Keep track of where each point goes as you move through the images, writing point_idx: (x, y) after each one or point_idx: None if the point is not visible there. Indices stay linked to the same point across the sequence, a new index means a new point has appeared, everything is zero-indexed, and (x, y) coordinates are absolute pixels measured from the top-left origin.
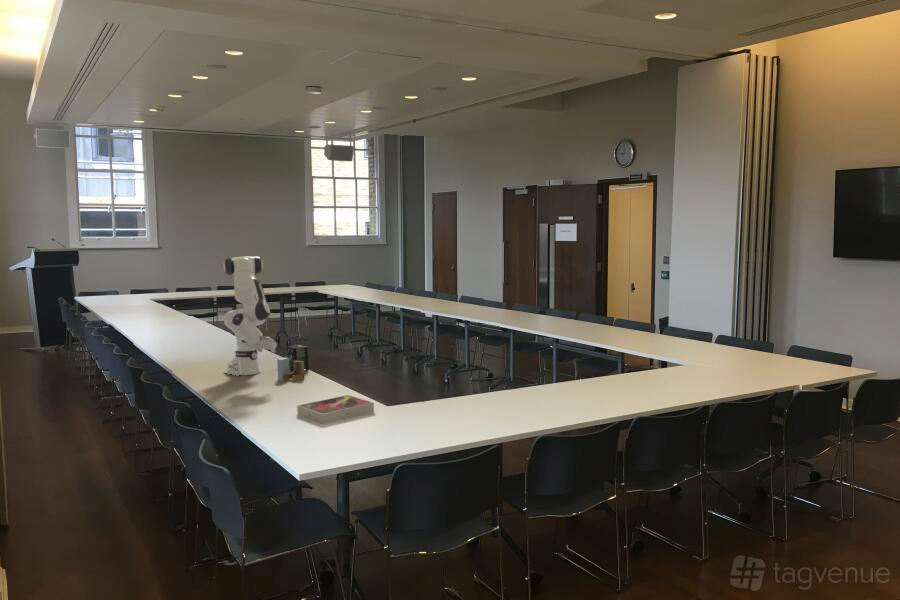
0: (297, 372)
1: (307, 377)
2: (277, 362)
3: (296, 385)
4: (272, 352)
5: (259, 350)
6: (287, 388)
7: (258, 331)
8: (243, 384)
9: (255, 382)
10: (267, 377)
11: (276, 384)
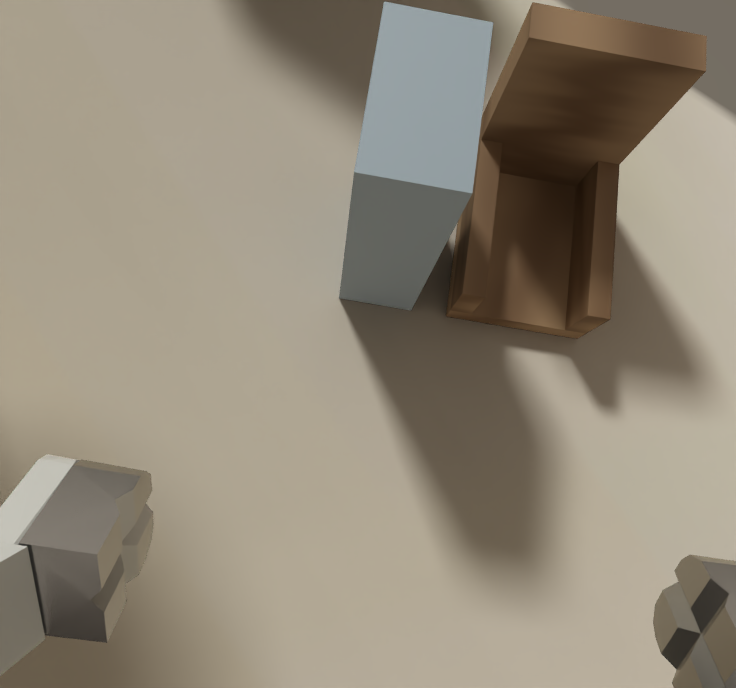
0: (541, 149)
1: None
2: (352, 200)
3: (723, 499)
4: (684, 647)
5: (85, 634)
6: None
7: None
8: None
9: None
10: (130, 211)
11: (463, 519)
